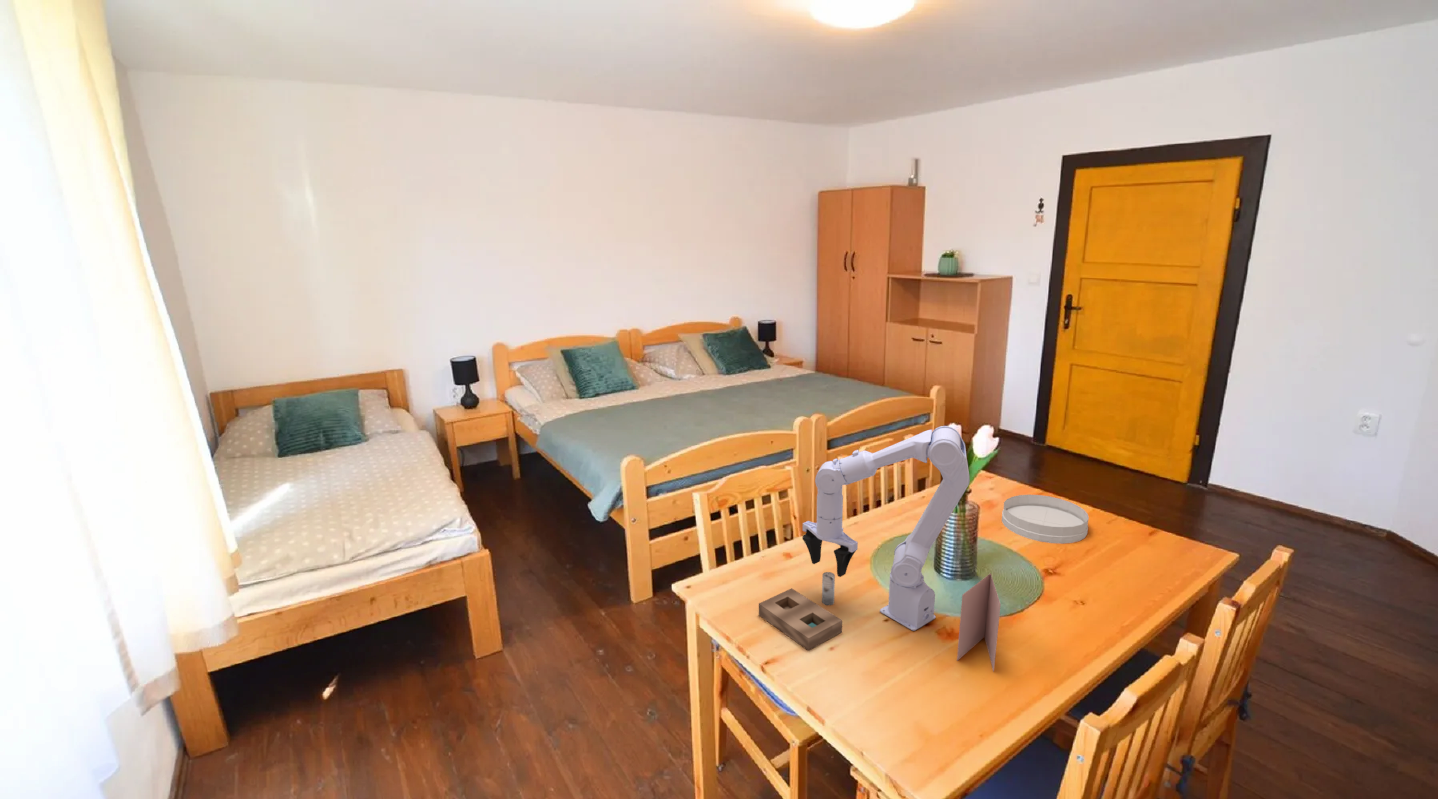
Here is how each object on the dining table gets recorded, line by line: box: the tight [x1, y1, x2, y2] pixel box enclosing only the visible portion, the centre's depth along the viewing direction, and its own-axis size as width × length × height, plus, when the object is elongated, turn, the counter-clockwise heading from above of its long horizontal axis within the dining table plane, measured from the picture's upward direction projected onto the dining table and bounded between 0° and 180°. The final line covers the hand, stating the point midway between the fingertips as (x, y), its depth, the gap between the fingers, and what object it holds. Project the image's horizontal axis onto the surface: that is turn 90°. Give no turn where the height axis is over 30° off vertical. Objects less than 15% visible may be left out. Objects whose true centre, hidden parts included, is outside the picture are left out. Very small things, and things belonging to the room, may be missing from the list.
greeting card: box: [956, 573, 1001, 673], centre depth 128 cm, size 11×7×15 cm, turn 131°
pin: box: [821, 571, 836, 606], centre depth 149 cm, size 3×3×7 cm
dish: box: [1001, 494, 1089, 544], centre depth 183 cm, size 22×22×5 cm
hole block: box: [758, 588, 843, 651], centre depth 141 cm, size 16×10×3 cm, turn 36°
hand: (828, 568), depth 148 cm, fingers open, 7 cm apart
